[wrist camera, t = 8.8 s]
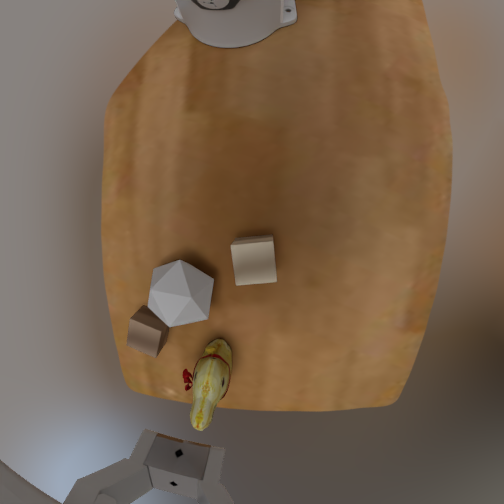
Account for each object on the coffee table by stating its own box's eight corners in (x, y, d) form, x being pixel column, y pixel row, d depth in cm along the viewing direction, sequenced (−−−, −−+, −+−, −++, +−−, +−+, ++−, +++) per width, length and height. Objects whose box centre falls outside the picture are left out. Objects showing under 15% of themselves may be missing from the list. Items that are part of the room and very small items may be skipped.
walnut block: (143, 305, 41) (130, 318, 37) (172, 316, 42) (161, 331, 37) (139, 330, 43) (126, 345, 38) (166, 341, 43) (156, 358, 38)
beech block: (235, 238, 38) (230, 245, 33) (272, 234, 38) (273, 241, 33) (240, 273, 39) (235, 285, 34) (276, 270, 39) (276, 281, 34)
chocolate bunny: (239, 334, 41) (225, 400, 27) (229, 386, 44) (215, 453, 29) (195, 324, 41) (163, 385, 27) (190, 378, 44) (164, 441, 29)
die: (151, 261, 40) (129, 320, 34) (178, 233, 35) (152, 302, 28) (198, 287, 44) (182, 345, 38) (231, 265, 38) (216, 333, 32)
